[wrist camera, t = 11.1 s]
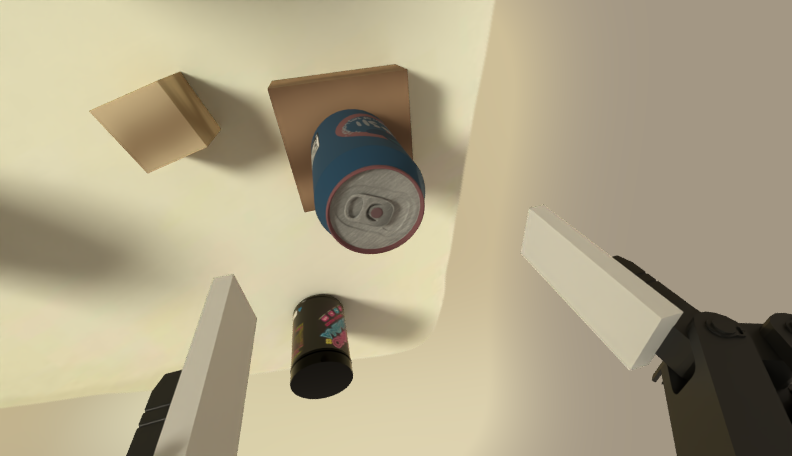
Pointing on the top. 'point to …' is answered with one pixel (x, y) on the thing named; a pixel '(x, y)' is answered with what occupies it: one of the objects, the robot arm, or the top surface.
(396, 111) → the walnut slab
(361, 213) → the soda can
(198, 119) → the oak cube
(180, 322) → the top surface
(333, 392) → the supplement container
